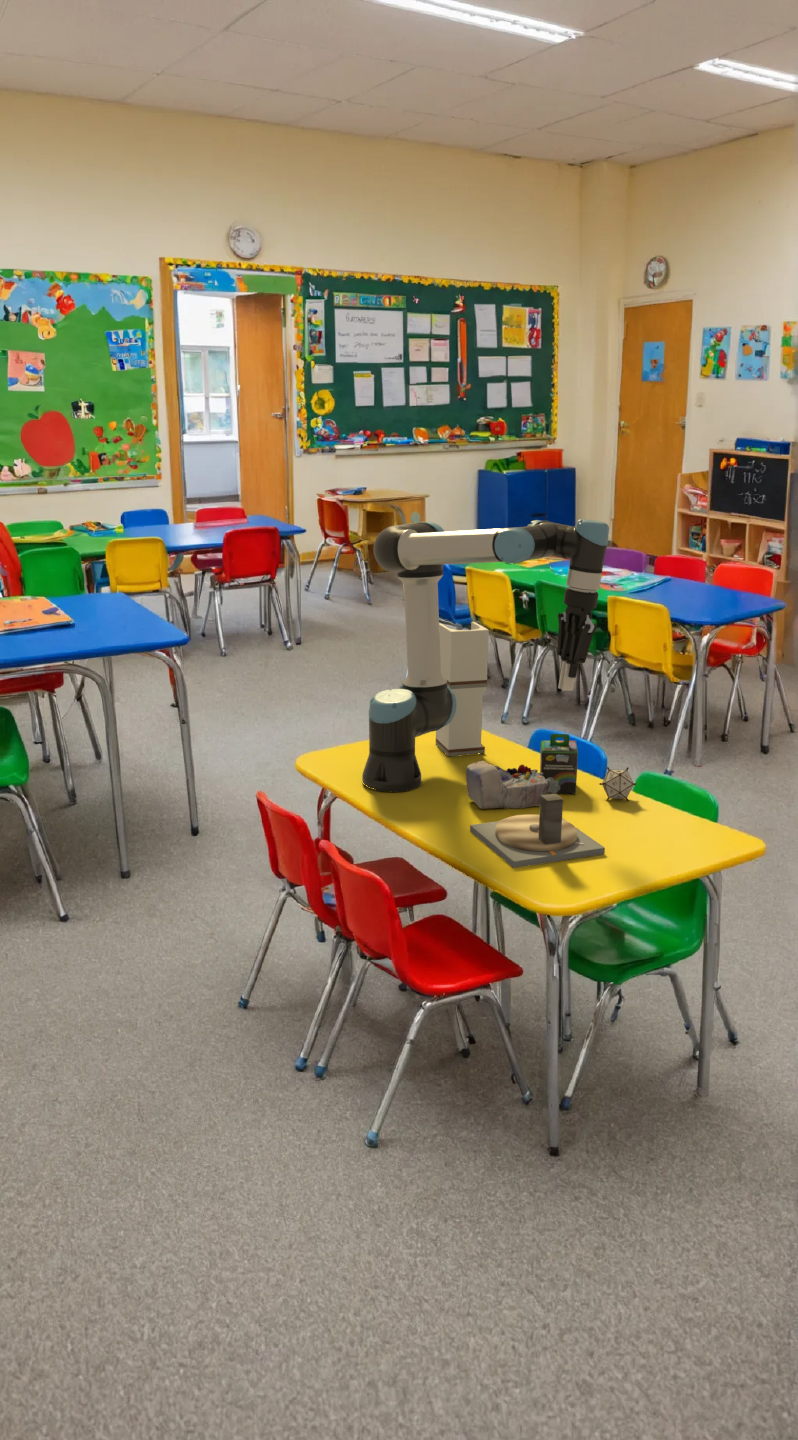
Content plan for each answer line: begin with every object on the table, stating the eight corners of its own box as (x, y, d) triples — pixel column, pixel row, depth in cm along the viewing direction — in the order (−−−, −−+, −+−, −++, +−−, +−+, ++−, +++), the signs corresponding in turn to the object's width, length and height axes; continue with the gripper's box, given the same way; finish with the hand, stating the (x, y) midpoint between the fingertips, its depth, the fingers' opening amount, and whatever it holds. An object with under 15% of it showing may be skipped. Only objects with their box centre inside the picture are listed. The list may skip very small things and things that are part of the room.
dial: (483, 825, 254) (484, 777, 251) (555, 817, 259) (558, 770, 256) (514, 855, 238) (516, 804, 234) (591, 846, 243) (594, 796, 240)
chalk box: (574, 783, 287) (577, 728, 283) (576, 795, 279) (579, 738, 275) (538, 781, 288) (541, 726, 284) (539, 793, 280) (542, 737, 275)
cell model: (460, 757, 272) (532, 750, 280) (458, 799, 275) (530, 791, 283) (484, 773, 261) (559, 765, 268) (482, 816, 264) (556, 807, 271)
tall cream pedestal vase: (484, 753, 310) (488, 629, 300) (448, 756, 307) (451, 631, 298) (470, 742, 321) (474, 621, 311) (435, 744, 318) (437, 623, 308)
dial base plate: (469, 831, 255) (470, 824, 254) (555, 819, 263) (555, 812, 262) (513, 868, 235) (513, 860, 235) (604, 854, 243) (604, 846, 242)
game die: (620, 816, 275) (626, 794, 267) (590, 798, 279) (595, 776, 271) (638, 791, 280) (645, 769, 272) (609, 774, 283) (615, 751, 275)
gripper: (613, 596, 249) (595, 697, 255) (579, 584, 261) (563, 681, 268) (585, 594, 246) (567, 697, 252) (552, 582, 258) (536, 681, 264)
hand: (565, 689), depth 260 cm, fingers closed
